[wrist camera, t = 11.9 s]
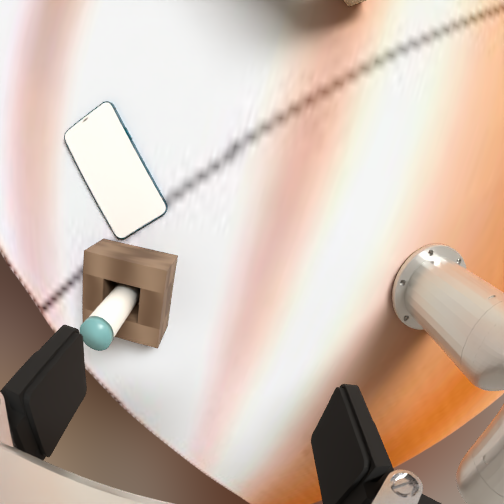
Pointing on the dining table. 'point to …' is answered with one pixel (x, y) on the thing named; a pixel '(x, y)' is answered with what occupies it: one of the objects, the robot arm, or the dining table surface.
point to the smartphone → (114, 171)
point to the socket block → (134, 274)
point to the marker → (109, 316)
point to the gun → (352, 2)
